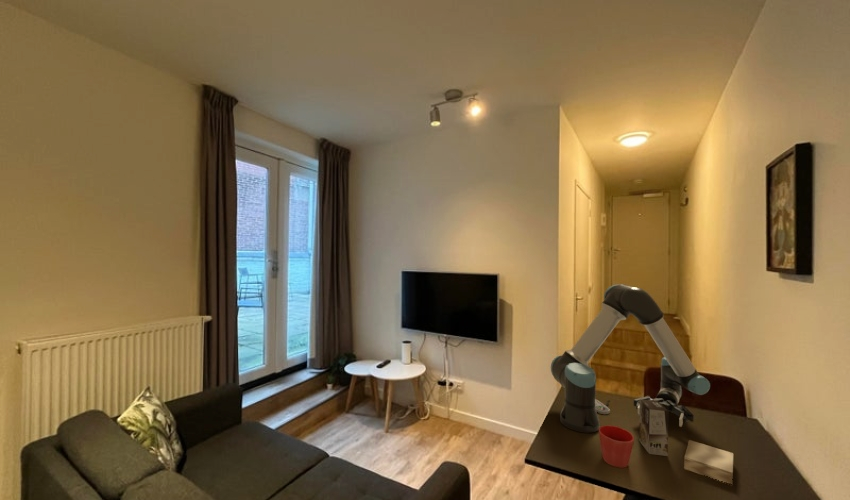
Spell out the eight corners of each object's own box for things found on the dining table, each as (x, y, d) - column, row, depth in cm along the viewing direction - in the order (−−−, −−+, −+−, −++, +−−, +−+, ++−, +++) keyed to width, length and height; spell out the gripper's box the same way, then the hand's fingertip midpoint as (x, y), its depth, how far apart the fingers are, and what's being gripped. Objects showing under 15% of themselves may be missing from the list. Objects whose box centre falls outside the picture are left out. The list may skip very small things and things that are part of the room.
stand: (684, 468, 117) (684, 456, 117) (689, 450, 127) (689, 439, 127) (732, 485, 109) (732, 472, 108) (733, 465, 119) (733, 453, 119)
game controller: (580, 400, 169) (580, 396, 169) (605, 399, 170) (605, 395, 170) (599, 415, 154) (599, 411, 154) (626, 414, 156) (626, 410, 156)
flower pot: (631, 456, 123) (632, 428, 123) (635, 474, 113) (635, 444, 113) (598, 448, 128) (598, 422, 128) (598, 465, 118) (599, 437, 118)
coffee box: (668, 456, 123) (669, 411, 123) (648, 454, 125) (649, 409, 125) (657, 442, 132) (657, 399, 132) (638, 440, 134) (639, 398, 133)
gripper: (703, 417, 143) (699, 438, 128) (634, 399, 160) (622, 415, 144) (704, 399, 143) (699, 418, 127) (634, 383, 160) (622, 397, 144)
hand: (658, 416), depth 136 cm, fingers open, 13 cm apart
